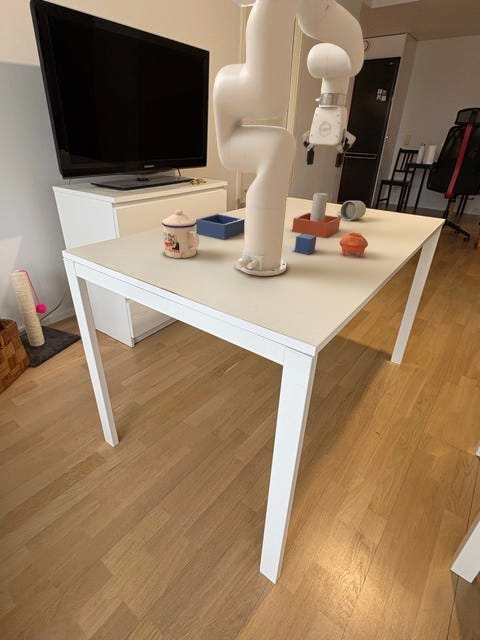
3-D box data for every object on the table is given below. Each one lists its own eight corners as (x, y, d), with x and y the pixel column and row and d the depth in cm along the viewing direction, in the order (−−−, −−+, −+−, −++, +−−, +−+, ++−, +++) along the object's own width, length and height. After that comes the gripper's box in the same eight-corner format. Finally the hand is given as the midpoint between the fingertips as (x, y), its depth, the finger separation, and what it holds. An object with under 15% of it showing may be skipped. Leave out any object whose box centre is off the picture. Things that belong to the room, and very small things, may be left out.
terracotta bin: (325, 237, 115) (327, 223, 113) (292, 231, 121) (293, 218, 119) (338, 230, 125) (340, 217, 122) (306, 224, 130) (308, 212, 128)
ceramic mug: (365, 219, 141) (369, 200, 138) (354, 222, 136) (358, 202, 133) (343, 215, 148) (346, 196, 145) (332, 217, 143) (335, 198, 140)
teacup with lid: (157, 252, 95) (153, 209, 89) (183, 246, 101) (181, 205, 95) (184, 264, 88) (182, 218, 82) (210, 256, 94) (210, 213, 88)
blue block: (308, 254, 98) (310, 239, 96) (294, 251, 101) (296, 236, 98) (314, 251, 102) (316, 236, 100) (300, 248, 104) (302, 233, 102)
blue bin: (224, 239, 109) (224, 225, 107) (196, 233, 114) (195, 219, 112) (244, 232, 117) (244, 218, 115) (217, 226, 123) (217, 213, 121)
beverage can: (322, 231, 120) (328, 195, 114) (308, 230, 121) (313, 194, 115) (322, 228, 124) (327, 193, 118) (309, 227, 125) (313, 192, 119)
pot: (352, 260, 95) (352, 235, 93) (333, 257, 102) (333, 234, 99) (374, 255, 98) (374, 231, 96) (354, 254, 105) (354, 231, 103)
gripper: (300, 101, 102) (293, 164, 111) (356, 100, 93) (344, 169, 102) (311, 103, 108) (304, 163, 116) (365, 103, 99) (354, 167, 107)
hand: (323, 165), depth 109 cm, fingers open, 9 cm apart
